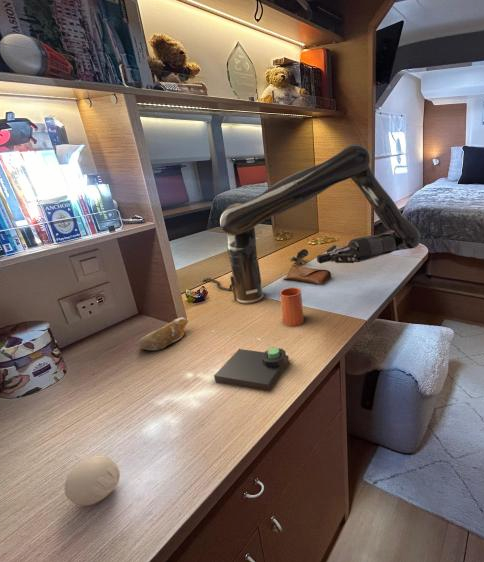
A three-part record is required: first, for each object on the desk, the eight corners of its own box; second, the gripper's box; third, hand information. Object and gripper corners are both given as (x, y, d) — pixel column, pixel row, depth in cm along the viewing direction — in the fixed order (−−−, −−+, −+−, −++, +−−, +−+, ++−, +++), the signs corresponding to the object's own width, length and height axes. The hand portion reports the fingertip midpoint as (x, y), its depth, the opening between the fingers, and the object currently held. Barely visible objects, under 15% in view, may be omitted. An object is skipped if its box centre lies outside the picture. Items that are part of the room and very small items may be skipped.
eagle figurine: (309, 265, 146) (312, 255, 153) (298, 253, 143) (302, 243, 150) (296, 273, 149) (299, 263, 156) (285, 262, 146) (289, 252, 153)
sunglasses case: (281, 279, 135) (284, 262, 135) (290, 281, 141) (293, 266, 142) (322, 285, 128) (325, 267, 129) (329, 287, 134) (332, 271, 135)
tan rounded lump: (103, 518, 52) (88, 489, 49) (63, 511, 53) (46, 482, 50) (135, 477, 58) (123, 449, 55) (98, 472, 59) (85, 444, 57)
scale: (215, 382, 80) (212, 369, 79) (241, 354, 90) (238, 342, 89) (270, 391, 76) (268, 378, 75) (290, 361, 86) (289, 349, 85)
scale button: (266, 358, 82) (265, 353, 82) (271, 352, 85) (270, 346, 84) (276, 360, 82) (275, 354, 81) (281, 353, 84) (280, 348, 84)
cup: (280, 324, 103) (276, 295, 99) (288, 315, 109) (285, 286, 105) (299, 327, 101) (296, 297, 98) (306, 317, 107) (304, 288, 103)
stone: (129, 332, 90) (178, 306, 101) (133, 349, 94) (180, 321, 105) (146, 345, 88) (195, 316, 99) (150, 362, 91) (196, 332, 102)
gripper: (354, 233, 114) (307, 242, 106) (377, 241, 103) (327, 253, 95) (355, 254, 117) (309, 265, 109) (377, 265, 106) (329, 278, 98)
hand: (318, 259), depth 102 cm, fingers closed
